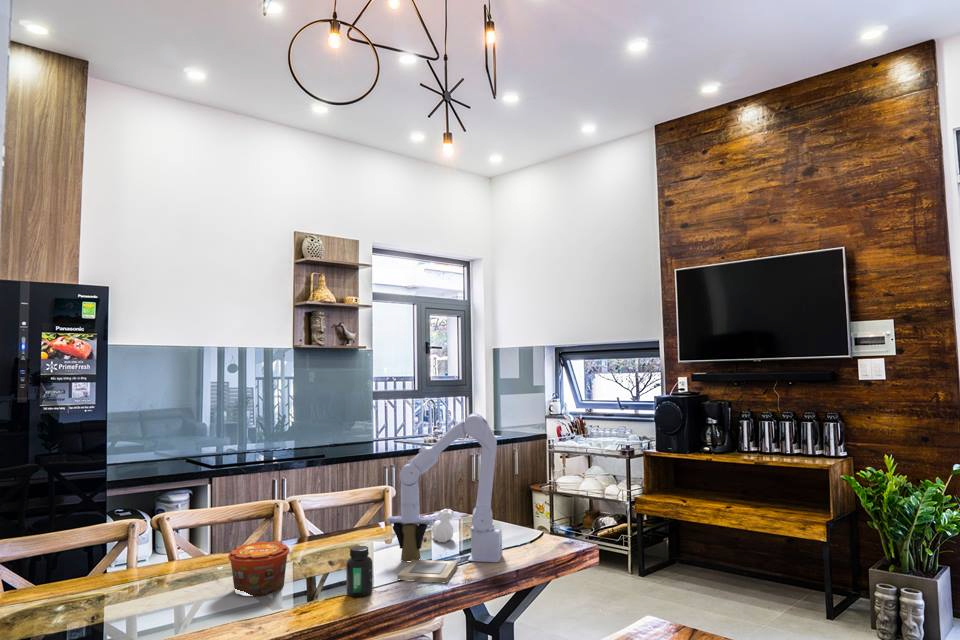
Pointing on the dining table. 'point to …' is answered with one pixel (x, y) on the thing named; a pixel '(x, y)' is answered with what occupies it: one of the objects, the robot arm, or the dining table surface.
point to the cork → (410, 543)
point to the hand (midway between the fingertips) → (410, 548)
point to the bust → (443, 526)
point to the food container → (259, 567)
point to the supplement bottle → (359, 573)
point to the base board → (428, 571)
